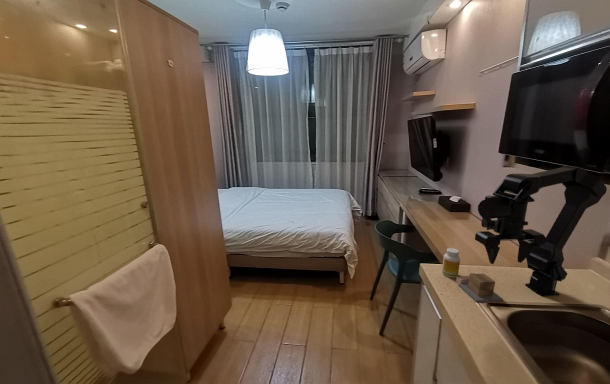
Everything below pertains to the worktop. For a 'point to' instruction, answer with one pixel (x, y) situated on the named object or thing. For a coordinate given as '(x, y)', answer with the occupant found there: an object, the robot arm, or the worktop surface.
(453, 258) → the supplement bottle
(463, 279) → the pink eraser
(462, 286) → the slate trivet
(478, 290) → the walnut block
